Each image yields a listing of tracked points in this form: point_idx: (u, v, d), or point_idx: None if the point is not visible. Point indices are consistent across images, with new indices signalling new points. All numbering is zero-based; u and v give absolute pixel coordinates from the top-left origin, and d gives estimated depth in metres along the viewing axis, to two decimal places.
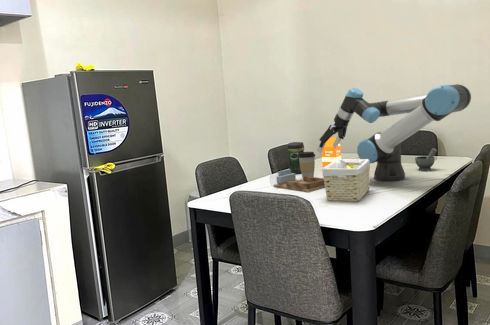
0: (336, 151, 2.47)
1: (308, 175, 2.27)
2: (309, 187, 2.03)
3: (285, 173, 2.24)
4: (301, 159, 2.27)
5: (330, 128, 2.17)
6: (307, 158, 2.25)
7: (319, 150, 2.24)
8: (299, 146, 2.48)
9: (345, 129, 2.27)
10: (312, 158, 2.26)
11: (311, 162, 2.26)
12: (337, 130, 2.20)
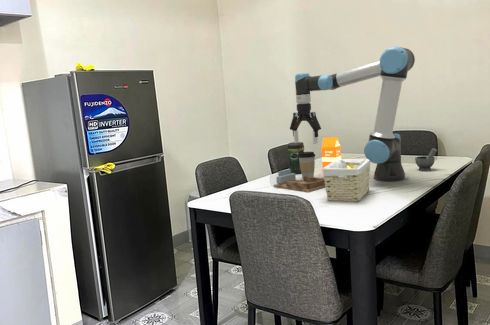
0: (336, 151, 2.47)
1: (308, 175, 2.27)
2: (309, 187, 2.03)
3: (285, 173, 2.24)
4: (301, 159, 2.27)
5: (314, 114, 2.21)
6: (307, 158, 2.25)
7: (316, 141, 2.23)
8: (299, 146, 2.48)
9: (296, 119, 2.32)
10: (312, 158, 2.26)
11: (311, 162, 2.26)
12: (309, 116, 2.25)
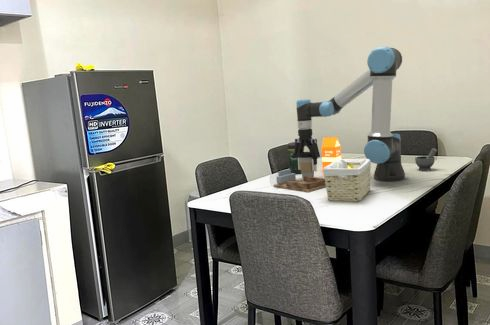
0: (336, 151, 2.47)
1: (308, 175, 2.27)
2: (309, 187, 2.03)
3: (285, 173, 2.24)
4: (301, 159, 2.27)
5: (315, 142, 2.23)
6: (307, 158, 2.25)
7: (315, 168, 2.26)
8: (299, 146, 2.48)
9: (299, 144, 2.34)
10: None
11: (311, 162, 2.26)
12: None
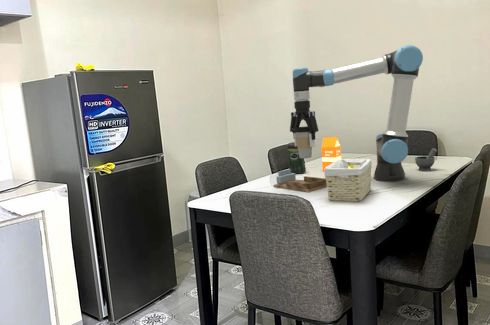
0: (336, 151, 2.47)
1: (305, 151, 2.07)
2: (309, 187, 2.03)
3: (285, 173, 2.24)
4: (298, 134, 2.07)
5: (313, 114, 2.03)
6: (304, 133, 2.05)
7: (313, 144, 2.06)
8: None
9: (295, 119, 2.13)
10: None
11: None
12: None
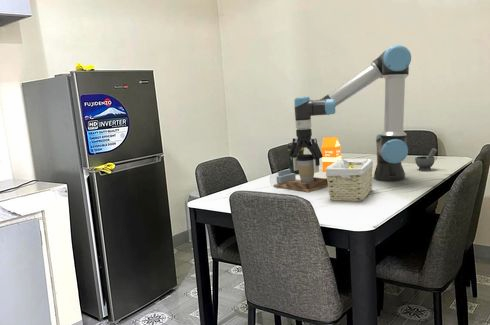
0: (336, 151, 2.47)
1: (307, 180, 2.09)
2: (309, 187, 2.03)
3: (285, 173, 2.24)
4: (300, 162, 2.09)
5: (315, 141, 2.04)
6: (306, 161, 2.07)
7: (317, 170, 2.06)
8: None
9: (296, 145, 2.16)
10: (312, 161, 2.08)
11: (310, 166, 2.08)
12: None
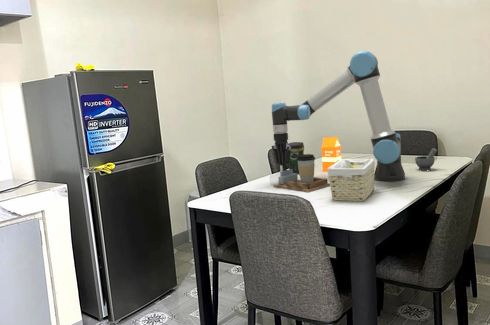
0: (336, 151, 2.47)
1: (307, 180, 2.09)
2: (309, 187, 2.03)
3: (287, 173, 2.22)
4: (300, 162, 2.09)
5: (289, 149, 2.19)
6: (306, 161, 2.07)
7: None
8: (299, 146, 2.48)
9: None
10: (312, 161, 2.08)
11: (310, 166, 2.08)
12: None
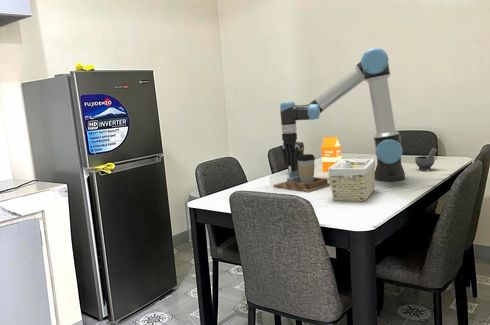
0: (336, 151, 2.47)
1: (307, 180, 2.09)
2: (309, 187, 2.03)
3: (296, 174, 2.18)
4: (300, 162, 2.09)
5: (298, 149, 2.14)
6: (306, 161, 2.07)
7: None
8: None
9: (286, 151, 2.22)
10: (312, 161, 2.08)
11: (310, 166, 2.08)
12: None
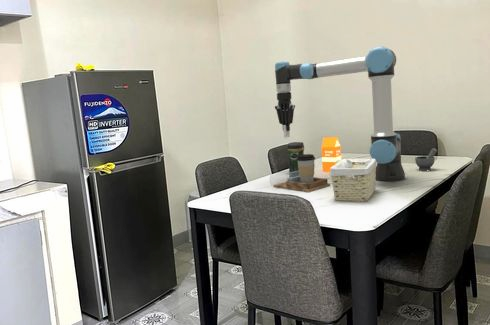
0: (336, 151, 2.47)
1: (307, 180, 2.09)
2: (309, 187, 2.03)
3: (296, 174, 2.18)
4: (300, 162, 2.09)
5: (292, 108, 2.19)
6: (306, 161, 2.07)
7: (287, 135, 2.25)
8: (299, 146, 2.48)
9: (281, 111, 2.27)
10: (312, 161, 2.08)
11: (310, 166, 2.08)
12: None
